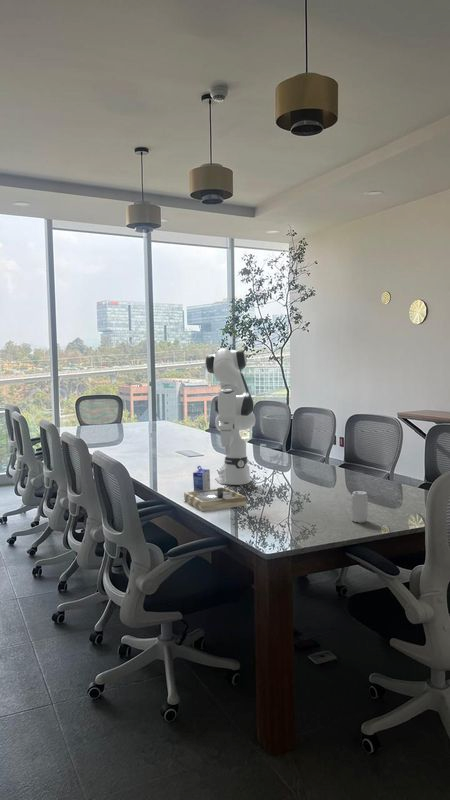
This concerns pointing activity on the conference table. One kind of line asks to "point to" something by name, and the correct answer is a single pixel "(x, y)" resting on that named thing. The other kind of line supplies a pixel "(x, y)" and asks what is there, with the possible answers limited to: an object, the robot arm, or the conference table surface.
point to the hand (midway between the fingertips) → (228, 453)
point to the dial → (214, 495)
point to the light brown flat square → (215, 504)
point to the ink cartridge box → (201, 479)
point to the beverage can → (359, 506)
